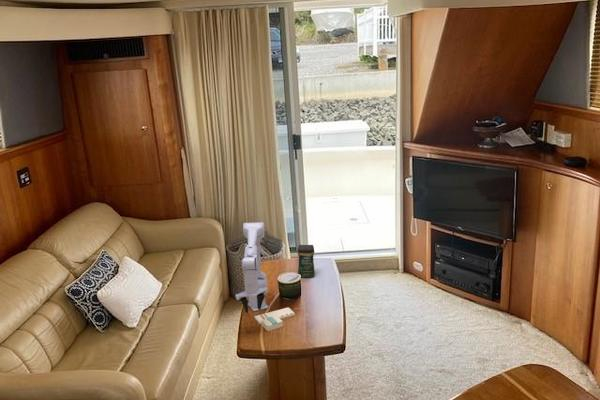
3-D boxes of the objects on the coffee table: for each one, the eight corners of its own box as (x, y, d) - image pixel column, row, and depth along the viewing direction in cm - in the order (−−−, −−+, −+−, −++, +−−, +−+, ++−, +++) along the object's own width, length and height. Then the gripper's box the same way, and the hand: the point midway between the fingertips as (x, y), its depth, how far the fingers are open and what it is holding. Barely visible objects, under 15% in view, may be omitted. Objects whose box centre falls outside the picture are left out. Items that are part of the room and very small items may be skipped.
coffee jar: (297, 278, 278) (296, 247, 273) (298, 272, 285) (297, 242, 280) (314, 278, 277) (313, 247, 272) (315, 272, 284) (314, 242, 280)
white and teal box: (261, 326, 229) (261, 319, 228) (277, 321, 232) (276, 314, 231) (267, 332, 224) (267, 325, 223) (283, 327, 227) (282, 320, 226)
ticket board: (254, 318, 236) (254, 315, 235) (288, 309, 243) (288, 306, 243) (260, 324, 229) (260, 322, 229) (294, 315, 237) (294, 312, 237)
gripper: (238, 289, 211) (240, 318, 215) (269, 282, 217) (271, 310, 221) (233, 283, 217) (235, 311, 221) (263, 276, 223) (265, 303, 227)
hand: (252, 310), depth 221 cm, fingers open, 5 cm apart
